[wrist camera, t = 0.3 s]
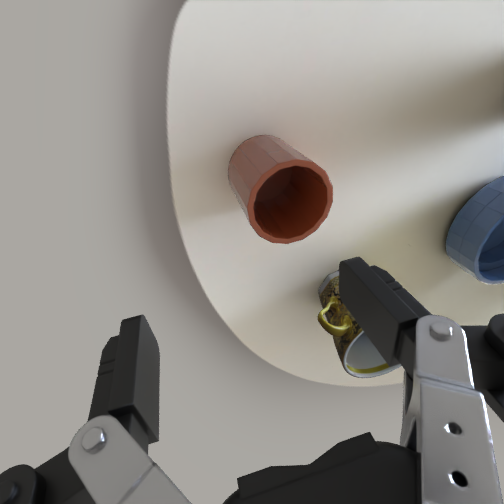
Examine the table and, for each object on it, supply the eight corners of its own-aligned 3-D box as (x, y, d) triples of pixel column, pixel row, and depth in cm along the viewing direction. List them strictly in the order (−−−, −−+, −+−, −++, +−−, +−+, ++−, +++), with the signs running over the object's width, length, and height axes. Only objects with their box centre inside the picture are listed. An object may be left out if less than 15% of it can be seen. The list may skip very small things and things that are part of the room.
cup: (221, 144, 26) (240, 173, 20) (291, 127, 27) (332, 150, 20) (235, 210, 30) (255, 253, 23) (297, 194, 31) (333, 231, 24)
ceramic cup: (390, 266, 40) (449, 321, 32) (347, 321, 44) (390, 382, 35) (313, 238, 34) (360, 296, 26) (272, 304, 38) (302, 371, 30)
